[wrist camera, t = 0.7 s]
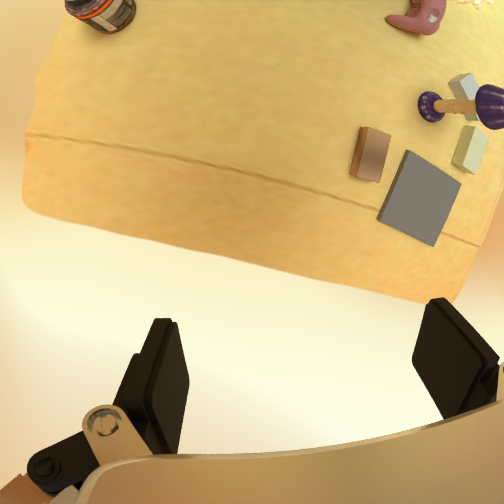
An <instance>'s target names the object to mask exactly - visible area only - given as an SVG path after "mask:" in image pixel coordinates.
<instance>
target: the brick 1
mask: <svg viewBox="0 0 504 504" xmlns="http://www.w3.org/2000/svg"><path fill="white" fill-rule="evenodd" d="M390 137H391V135H390V134H387V133H384V132H381V131H378V130H375V129H372V128H369V127H360V130H359V135H358V140H357V144H356V148H355V153H354V157H353V161H352V166H351V170H350V174H351V175H354V176H356V177H359V178H363V179H366V180H370V181H373V182H377V183H380V179H381V175H382V171H383V167H384V163H385V159H386V155H387V151H388V146H389V142H390Z"/></svg>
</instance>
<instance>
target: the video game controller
mask: <svg viewBox="0 0 504 504" xmlns="http://www.w3.org/2000/svg"><path fill="white" fill-rule="evenodd" d="M411 1H412V2H413V3H414V5H415V6H416V7H419V8H420V9H418V8H411V9H410V10H409V11H408V13H407V16H401V15H389V16H387V21H388V22H389V23H390V24H392V25H394V26H396V27H398V28H401V29H404V30H408V31H413V32H419V33H421V34H423V35H431V34H433V33H435V32H436V31H437V30H438V28H439V25H440V24H439V23H440V22H441V20H442V18H443V16H444V13H445V9H446V0H411Z"/></svg>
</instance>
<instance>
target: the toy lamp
mask: <svg viewBox="0 0 504 504" xmlns="http://www.w3.org/2000/svg"><path fill="white" fill-rule="evenodd" d="M418 108H419V111H420V114H421V116H422V117H423V118H424V119H425V120H427V121H429V122H437V121H439V120H441V119H442V118H443V117H444V115H445V113H454V114H456V113H459V114H476V115H478V117H479V119H480V121H481V122H482V123H483V124H484V125H485V126H486V127H487V128H489V129H492V130H497V129H502V128H504V89H502V88H500V87H497V86H494V85H490V84H486V85H483V86H481V87H480V88H479V89H478V90H477V93H476V96H475V99H473V100H469V99H466V100H461V99H459V100H454V99H452V100H443V99H442V98H441V97H440V96H439V95H438V94H436V93H434V92H425V93H423V94H422V95H421V96H420V98H419V101H418Z"/></svg>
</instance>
